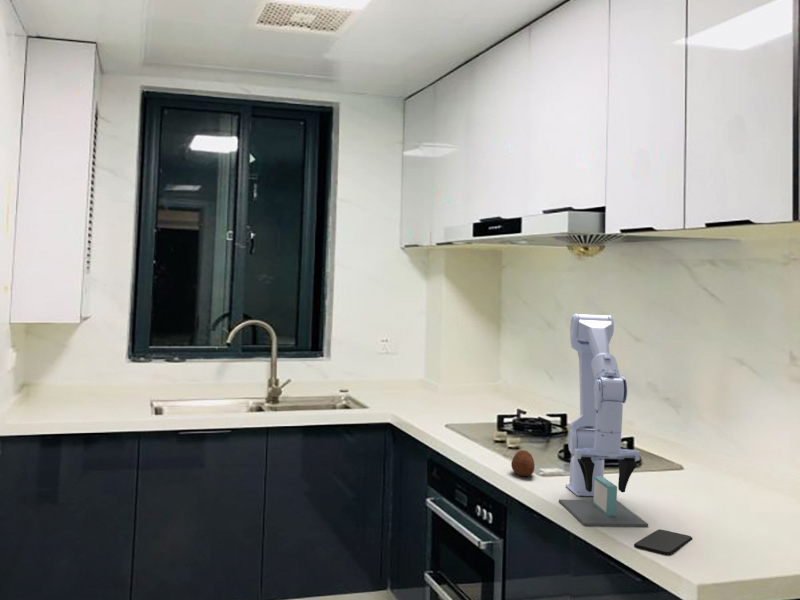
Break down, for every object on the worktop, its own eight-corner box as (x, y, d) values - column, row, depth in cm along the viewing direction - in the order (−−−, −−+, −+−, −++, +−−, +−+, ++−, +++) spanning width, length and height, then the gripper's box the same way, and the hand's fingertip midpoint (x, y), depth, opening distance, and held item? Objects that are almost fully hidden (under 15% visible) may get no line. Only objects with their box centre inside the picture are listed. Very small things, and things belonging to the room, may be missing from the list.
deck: (592, 503, 181) (594, 476, 181) (601, 504, 181) (602, 476, 181) (606, 515, 172) (608, 486, 172) (615, 515, 172) (617, 486, 172)
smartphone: (694, 536, 161) (670, 553, 149) (694, 541, 161) (669, 558, 149) (658, 528, 165) (632, 543, 153) (658, 532, 165) (631, 548, 153)
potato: (517, 480, 203) (518, 455, 203) (506, 469, 215) (507, 446, 215) (539, 480, 204) (541, 455, 204) (527, 469, 216) (528, 446, 215)
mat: (558, 502, 184) (559, 499, 184) (616, 503, 185) (616, 500, 185) (584, 525, 166) (584, 523, 166) (648, 526, 167) (648, 524, 167)
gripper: (582, 433, 172) (579, 495, 172) (646, 435, 173) (643, 496, 173) (572, 427, 179) (569, 486, 179) (634, 428, 180) (631, 487, 180)
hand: (605, 490), depth 177 cm, fingers open, 7 cm apart
